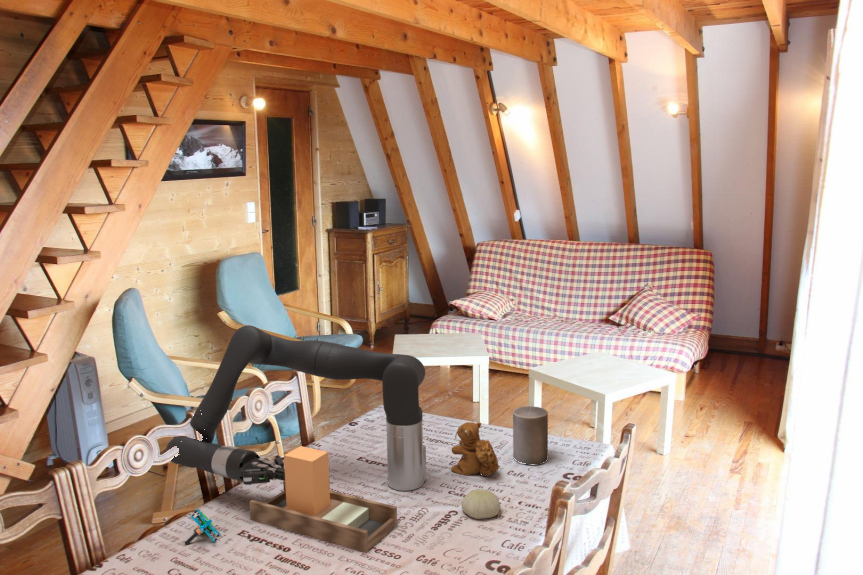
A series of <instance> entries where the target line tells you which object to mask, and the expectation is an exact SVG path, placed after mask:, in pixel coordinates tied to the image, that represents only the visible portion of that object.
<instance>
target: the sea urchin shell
mask: <svg viewBox="0 0 863 575" xmlns="http://www.w3.org/2000/svg"><path fill="white" fill-rule="evenodd" d="M460 504H461V509H462V511H463V513H465V514H466V515H468V516H469V517H471V518H473V519H477V520H479V519H490V518H494V517H495V516H497V515H498V514H499V512H500V510H501V502H500V500H499V498H498V496H497V495H496V494H495V493H494V492H492V491H490V490H488V489H480V488H479V489H474V490H472V491H470V492H468V493H467V494H466V495H465V496H464V497H463V498H462V499H461V502H460Z"/></svg>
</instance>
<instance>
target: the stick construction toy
mask: <svg viewBox="0 0 863 575" xmlns="http://www.w3.org/2000/svg"><path fill="white" fill-rule="evenodd" d="M196 512H198V514H197V515H196V514H195V513H196ZM195 515H196V517H195ZM190 518H191V519H192V520H193V521H194V522H195V523H196V524H197V526H196V528H194V529H193V531H194V533H193V534H191V536H190V537H188V539H186V540H185V541H184V544H185V546H187V545H189V544H190V543H191V542H192V541H193V540H195V538H196V537H197V536H200V535H202V534H203V533H205V534H206V535H207V536H208V538H210V540H211V541H212V542H213V543H215V542H217V540H218V538H213V537H214V536H216V537H219V536H220V535H221V533H220V531H219V530H218V529H216V528H215V526H214V524H213V520H212V519H211V518H208V517H207V516H206V515H205V513H203V512H201V511H200V509H198V508H196V509H195V510H194V511H193V513H192V514H191V515H190ZM211 533H213V534H212V535H211Z"/></svg>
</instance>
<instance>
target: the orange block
mask: <svg viewBox="0 0 863 575" xmlns="http://www.w3.org/2000/svg"><path fill="white" fill-rule="evenodd" d="M283 460H284V461H283V462H284V469H285V485H286V505H287V509H291V510H294V511H298V512H302V513H305V514H309V515H313V516H315V515H317V514H318V513H319V512H321V511H322V510H324V509H325V508H326V507H328V506H329V505H330V491H331V488H330V487H331V486H330V464H329V462H330V461H329V451H325V450H320V449H316V448H311V447H306V446H301V445H300V446H299V447H296V448H294V449H292V450H291V451H288V453H286V454H285V453H284V455H283Z"/></svg>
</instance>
